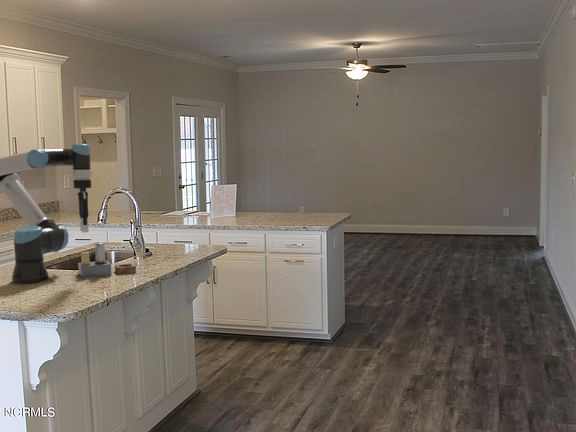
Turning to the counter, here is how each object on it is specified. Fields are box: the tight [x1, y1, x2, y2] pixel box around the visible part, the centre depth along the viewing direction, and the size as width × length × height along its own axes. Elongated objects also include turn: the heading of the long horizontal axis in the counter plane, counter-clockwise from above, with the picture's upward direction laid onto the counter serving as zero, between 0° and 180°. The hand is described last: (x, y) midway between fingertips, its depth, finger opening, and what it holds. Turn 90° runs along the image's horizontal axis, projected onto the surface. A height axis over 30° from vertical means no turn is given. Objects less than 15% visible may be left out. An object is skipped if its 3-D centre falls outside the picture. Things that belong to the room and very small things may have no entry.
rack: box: [113, 263, 138, 276], centre depth 307 cm, size 9×9×4 cm
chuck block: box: [77, 260, 113, 279], centre depth 301 cm, size 13×10×6 cm
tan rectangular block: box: [81, 251, 91, 265], centre depth 299 cm, size 3×3×7 cm
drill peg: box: [94, 242, 106, 264], centre depth 302 cm, size 4×4×14 cm
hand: (84, 231), depth 298 cm, fingers open, 5 cm apart
